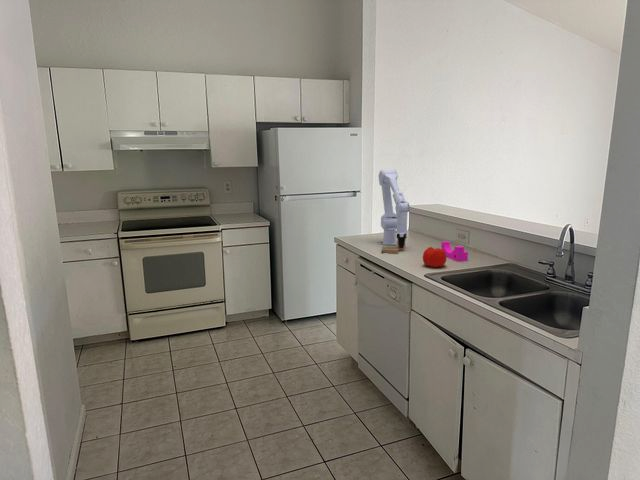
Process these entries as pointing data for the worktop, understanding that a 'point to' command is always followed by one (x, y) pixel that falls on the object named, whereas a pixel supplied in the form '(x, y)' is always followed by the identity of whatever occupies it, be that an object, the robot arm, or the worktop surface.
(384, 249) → the walnut block
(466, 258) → the toy block
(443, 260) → the tomato
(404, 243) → the terracotta block
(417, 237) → the worktop surface
